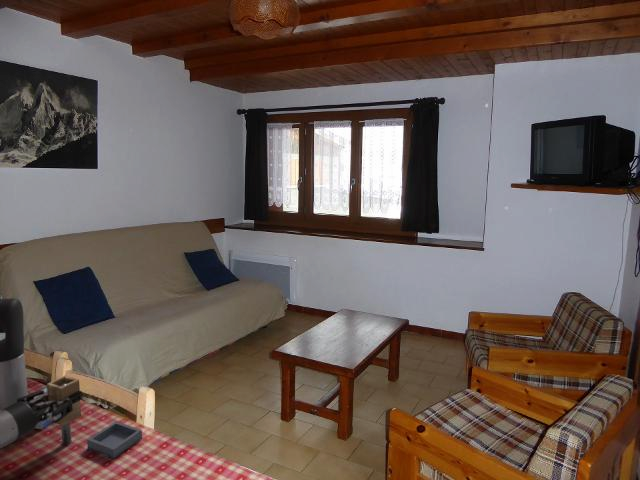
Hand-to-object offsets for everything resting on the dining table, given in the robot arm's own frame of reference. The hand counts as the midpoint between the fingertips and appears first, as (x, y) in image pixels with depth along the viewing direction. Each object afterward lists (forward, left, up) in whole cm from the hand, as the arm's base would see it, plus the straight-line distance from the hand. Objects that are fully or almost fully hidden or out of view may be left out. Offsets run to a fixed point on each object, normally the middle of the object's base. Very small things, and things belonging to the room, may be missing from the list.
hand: (73, 391), depth 115 cm
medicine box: (-12, -5, -13) cm, 19 cm away
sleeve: (+1, -2, -6) cm, 7 cm away
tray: (+9, +8, -13) cm, 17 cm away
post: (+2, -2, -13) cm, 13 cm away
